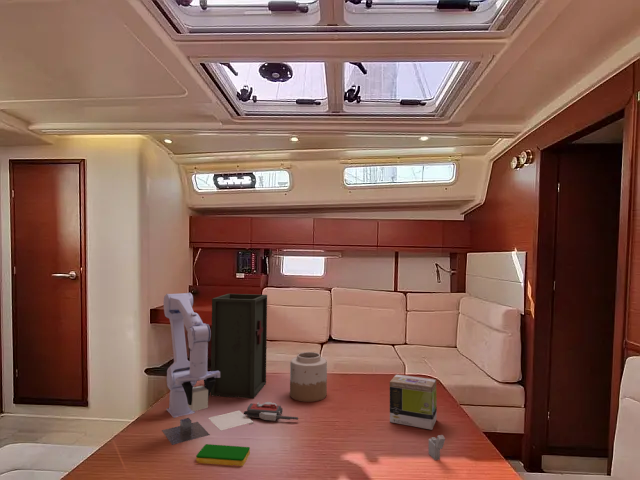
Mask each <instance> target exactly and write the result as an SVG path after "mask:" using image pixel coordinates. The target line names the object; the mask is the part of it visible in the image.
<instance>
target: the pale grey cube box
mask: <svg viewBox="0 0 640 480" xmlns="http://www.w3.org/2000/svg"><path fill="white" fill-rule="evenodd" d="M188 407H189V408H190V409H191V410H192V411H195V412H196V411H199V410H204V409H208V408H209V400H208V389H207V388H205V387H204V385H199V386H198V385H197V386H194V387H193V389H192V404H191V405H189V404H188Z"/></svg>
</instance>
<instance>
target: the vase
mask: <svg viewBox="0 0 640 480" xmlns="http://www.w3.org/2000/svg"><path fill="white" fill-rule="evenodd" d="M289 363H290V364H289V369H290V370H289V375H290V376H289V396H290V397H291V398H292V399H293V400H295V401H299V402H304V403H308V402H309V403H311V402H319V401H322V400H324V399H325V398H326V397H327V388H328V384H327V383H328V378H327V377H328V368H327V367H328V361H327V359H325V357H322V356H321V354H320V353H319V352H315V351H314V352H313V351H311V352H310V351H306V352H305V351H304V352H300V353H298V354H297V355H296V356H295V357H293V358H291V360H290V362H289Z"/></svg>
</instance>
